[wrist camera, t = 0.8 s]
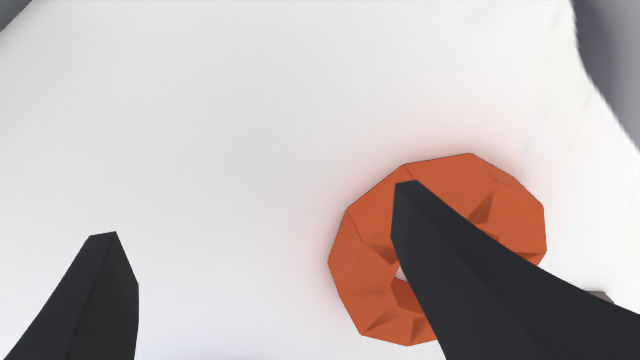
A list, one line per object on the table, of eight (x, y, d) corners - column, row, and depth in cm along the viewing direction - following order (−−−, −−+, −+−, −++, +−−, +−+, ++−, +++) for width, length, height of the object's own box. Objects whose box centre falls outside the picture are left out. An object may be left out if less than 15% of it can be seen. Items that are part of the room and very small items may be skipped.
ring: (466, 312, 35) (486, 344, 32) (308, 313, 30) (318, 349, 28) (555, 164, 28) (587, 191, 26) (371, 139, 24) (390, 168, 22)
